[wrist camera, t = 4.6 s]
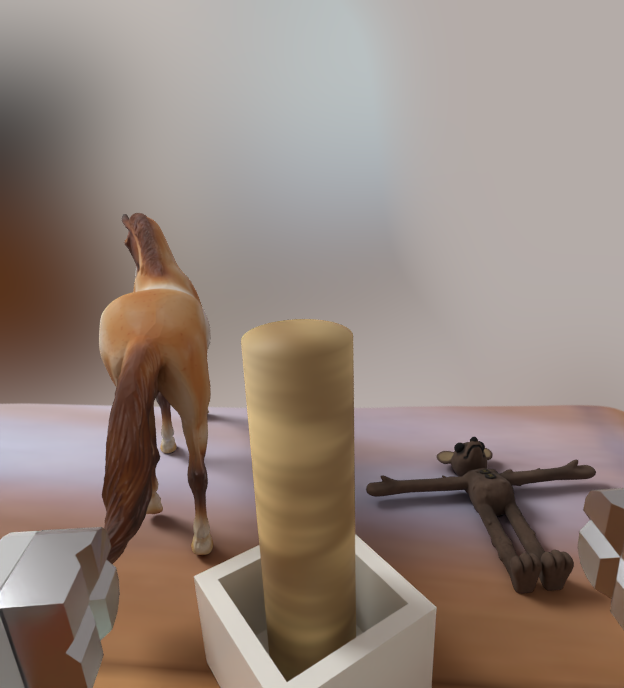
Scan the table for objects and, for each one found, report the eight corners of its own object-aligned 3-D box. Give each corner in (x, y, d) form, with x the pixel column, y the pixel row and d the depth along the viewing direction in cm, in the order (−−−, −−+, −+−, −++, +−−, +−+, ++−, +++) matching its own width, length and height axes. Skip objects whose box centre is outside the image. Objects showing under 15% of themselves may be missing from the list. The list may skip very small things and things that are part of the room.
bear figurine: (396, 574, 31) (356, 427, 44) (394, 623, 33) (356, 468, 46) (694, 547, 32) (569, 410, 45) (674, 595, 34) (560, 451, 47)
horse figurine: (154, 401, 58) (122, 209, 51) (225, 394, 59) (205, 204, 52) (87, 654, 30) (-6, 298, 22) (227, 632, 31) (183, 284, 23)
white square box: (287, 811, 22) (279, 714, 20) (206, 662, 29) (193, 576, 27) (430, 697, 27) (436, 607, 25) (332, 589, 33) (329, 511, 31)
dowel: (300, 726, 25) (277, 368, 18) (255, 656, 28) (222, 334, 22) (374, 674, 27) (376, 339, 20) (323, 615, 30) (312, 312, 24)
